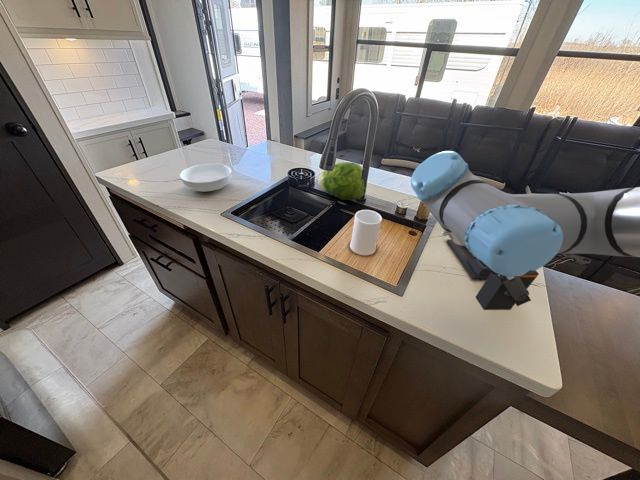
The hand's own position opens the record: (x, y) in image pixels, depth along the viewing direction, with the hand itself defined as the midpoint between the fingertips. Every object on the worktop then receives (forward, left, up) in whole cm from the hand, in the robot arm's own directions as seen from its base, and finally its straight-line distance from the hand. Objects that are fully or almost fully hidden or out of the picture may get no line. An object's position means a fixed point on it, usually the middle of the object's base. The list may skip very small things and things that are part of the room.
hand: (516, 293), depth 54 cm
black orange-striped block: (-3, +3, -3) cm, 5 cm away
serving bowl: (-17, +113, -12) cm, 115 cm away
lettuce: (+22, +69, -12) cm, 73 cm away
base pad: (+24, +11, -12) cm, 29 cm away
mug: (+2, +41, -12) cm, 43 cm away
